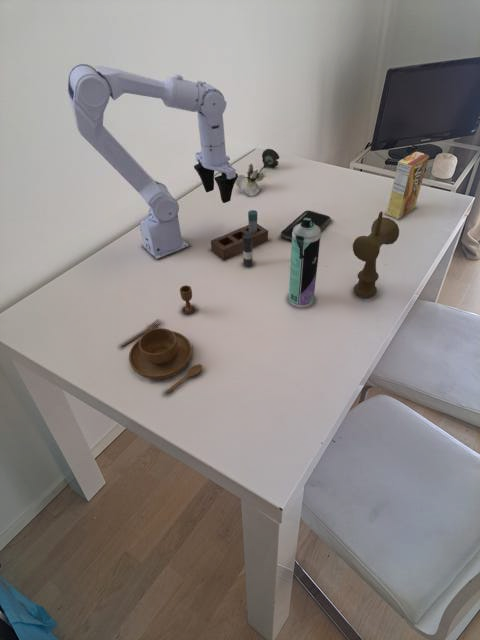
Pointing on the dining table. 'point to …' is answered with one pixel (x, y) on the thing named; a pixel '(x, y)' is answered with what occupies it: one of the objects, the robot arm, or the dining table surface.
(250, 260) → the black marker
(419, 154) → the candy box
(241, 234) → the marker stand
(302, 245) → the spray can
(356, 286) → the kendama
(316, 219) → the phone
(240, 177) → the artificial flower
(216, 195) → the dining table surface
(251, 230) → the teal marker
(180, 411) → the dining table surface
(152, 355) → the place setting
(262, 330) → the dining table surface
